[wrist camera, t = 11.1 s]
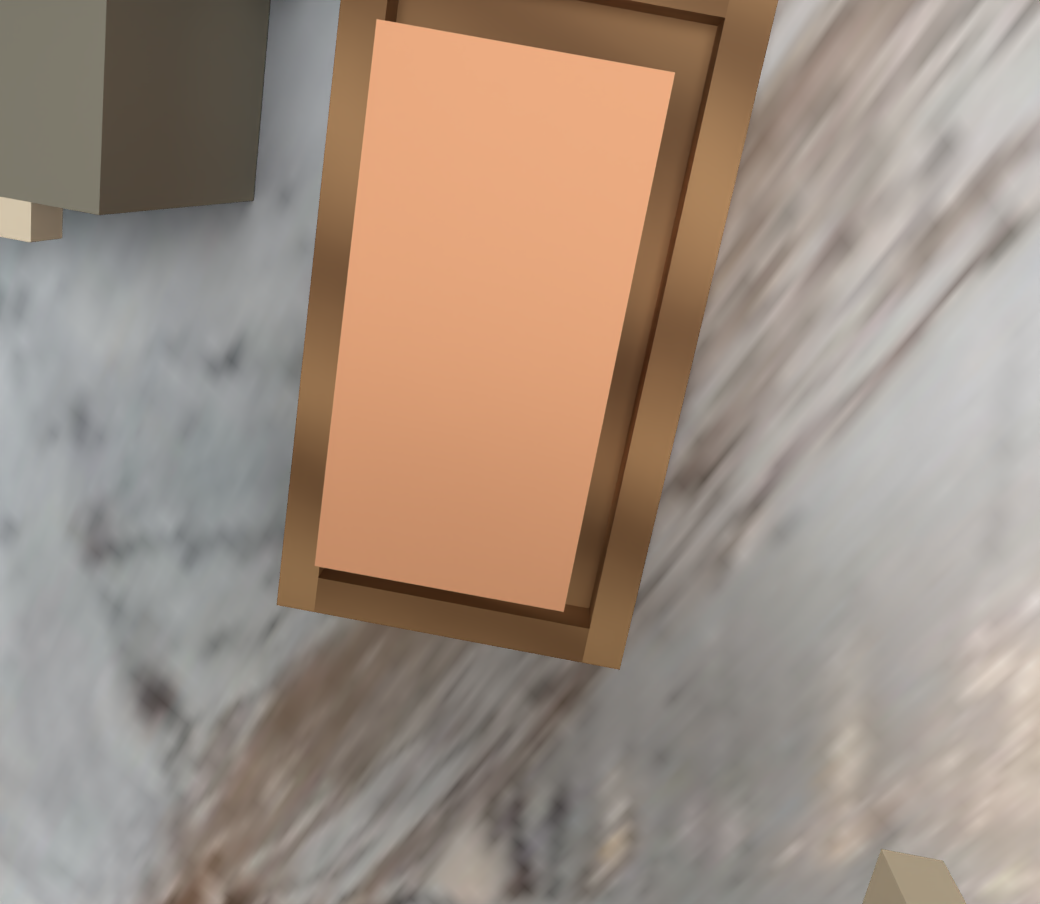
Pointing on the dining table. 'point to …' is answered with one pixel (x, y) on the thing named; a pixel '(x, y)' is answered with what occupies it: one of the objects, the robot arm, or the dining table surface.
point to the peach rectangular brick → (483, 309)
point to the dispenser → (126, 107)
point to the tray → (647, 324)
